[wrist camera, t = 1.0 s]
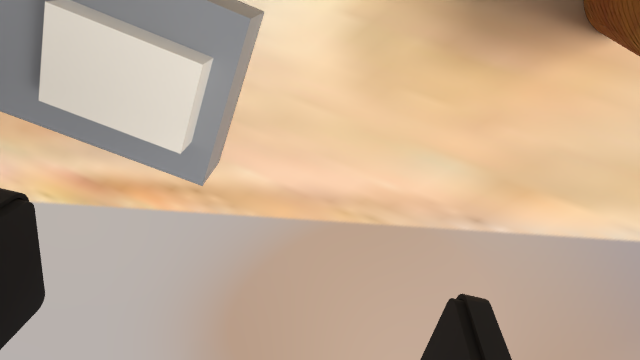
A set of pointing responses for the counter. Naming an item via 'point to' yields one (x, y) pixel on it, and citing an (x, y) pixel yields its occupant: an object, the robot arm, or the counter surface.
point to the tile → (121, 75)
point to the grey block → (158, 18)
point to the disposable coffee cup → (616, 20)
